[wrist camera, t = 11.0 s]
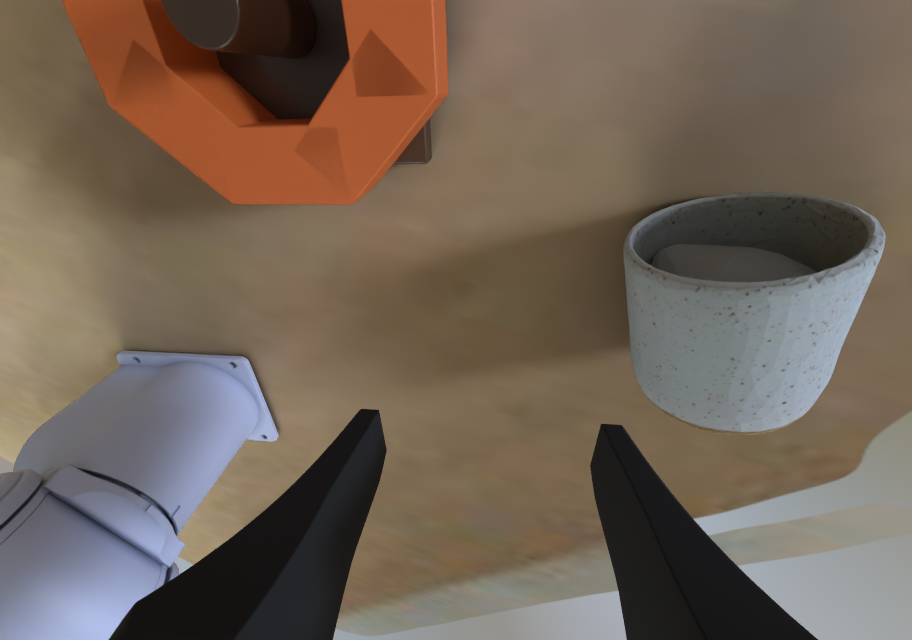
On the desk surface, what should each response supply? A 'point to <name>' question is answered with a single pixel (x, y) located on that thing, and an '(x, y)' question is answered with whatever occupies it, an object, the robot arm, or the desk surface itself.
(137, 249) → the desk surface
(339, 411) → the desk surface
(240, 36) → the stand
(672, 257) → the ceramic mug
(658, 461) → the desk surface
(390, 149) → the ring
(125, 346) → the desk surface
